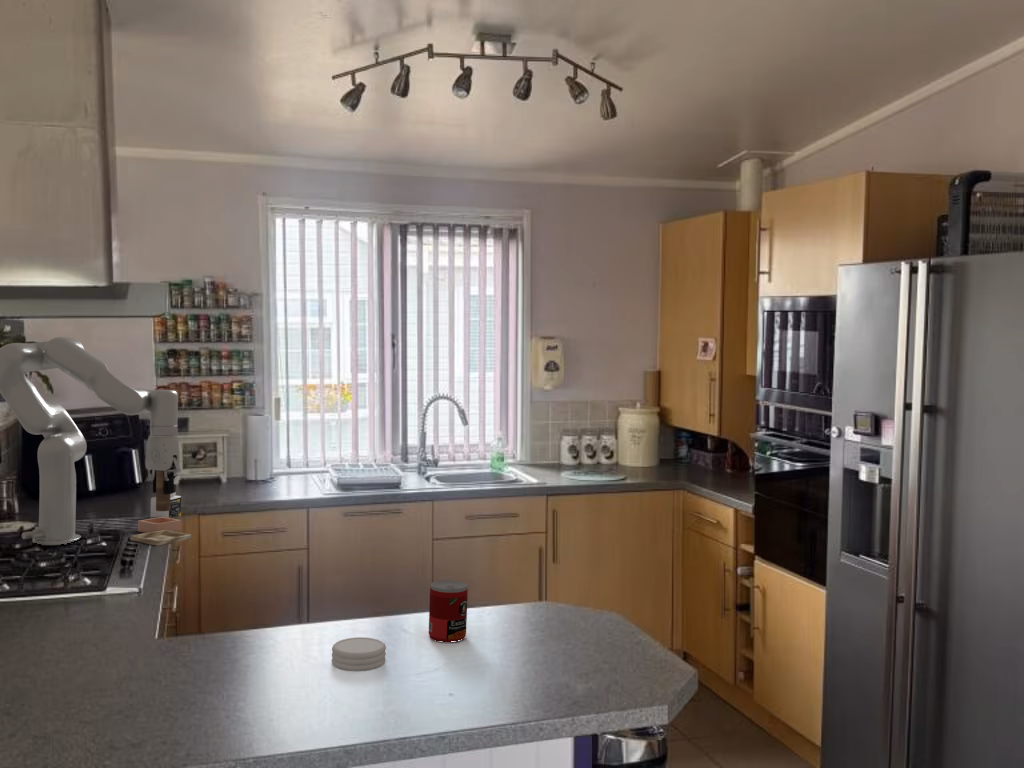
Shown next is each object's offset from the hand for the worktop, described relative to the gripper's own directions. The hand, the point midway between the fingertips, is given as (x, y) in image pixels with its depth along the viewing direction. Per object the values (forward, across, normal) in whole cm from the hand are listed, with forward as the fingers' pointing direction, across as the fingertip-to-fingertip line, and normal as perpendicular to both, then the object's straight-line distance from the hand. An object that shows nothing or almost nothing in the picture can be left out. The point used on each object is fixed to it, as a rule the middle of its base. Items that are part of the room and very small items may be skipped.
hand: (163, 492), depth 261 cm
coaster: (+16, +114, -45) cm, 123 cm away
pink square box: (+15, -11, +8) cm, 20 cm away
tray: (+15, 0, 0) cm, 15 cm away
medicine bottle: (+15, -31, +26) cm, 43 cm away
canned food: (+16, +119, -23) cm, 122 cm away
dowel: (+5, 0, 0) cm, 5 cm away
